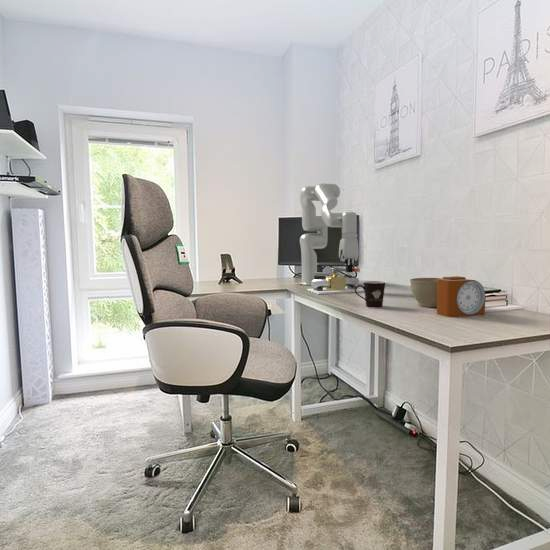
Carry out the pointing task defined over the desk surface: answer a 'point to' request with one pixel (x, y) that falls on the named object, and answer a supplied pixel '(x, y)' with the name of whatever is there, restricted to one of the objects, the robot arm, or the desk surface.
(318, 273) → the electrical switch
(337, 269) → the valve lever
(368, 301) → the coffee mug
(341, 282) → the valve pipe
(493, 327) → the desk surface
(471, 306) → the alarm clock
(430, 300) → the planter bowl
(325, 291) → the board
